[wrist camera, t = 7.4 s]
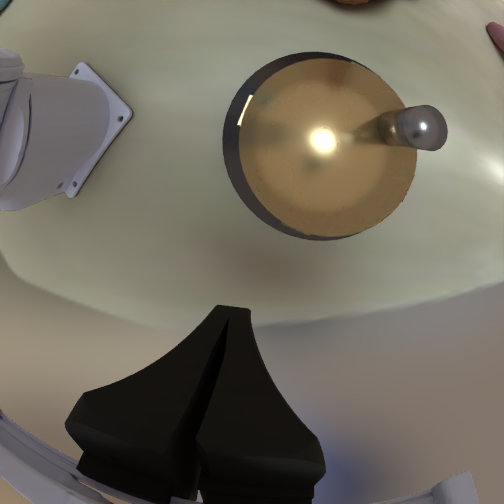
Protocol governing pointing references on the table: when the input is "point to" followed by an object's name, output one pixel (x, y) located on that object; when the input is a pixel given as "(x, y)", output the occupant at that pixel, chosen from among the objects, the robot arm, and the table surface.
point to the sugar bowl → (3, 3)
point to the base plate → (232, 139)
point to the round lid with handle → (332, 146)
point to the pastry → (353, 1)
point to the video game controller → (496, 34)
